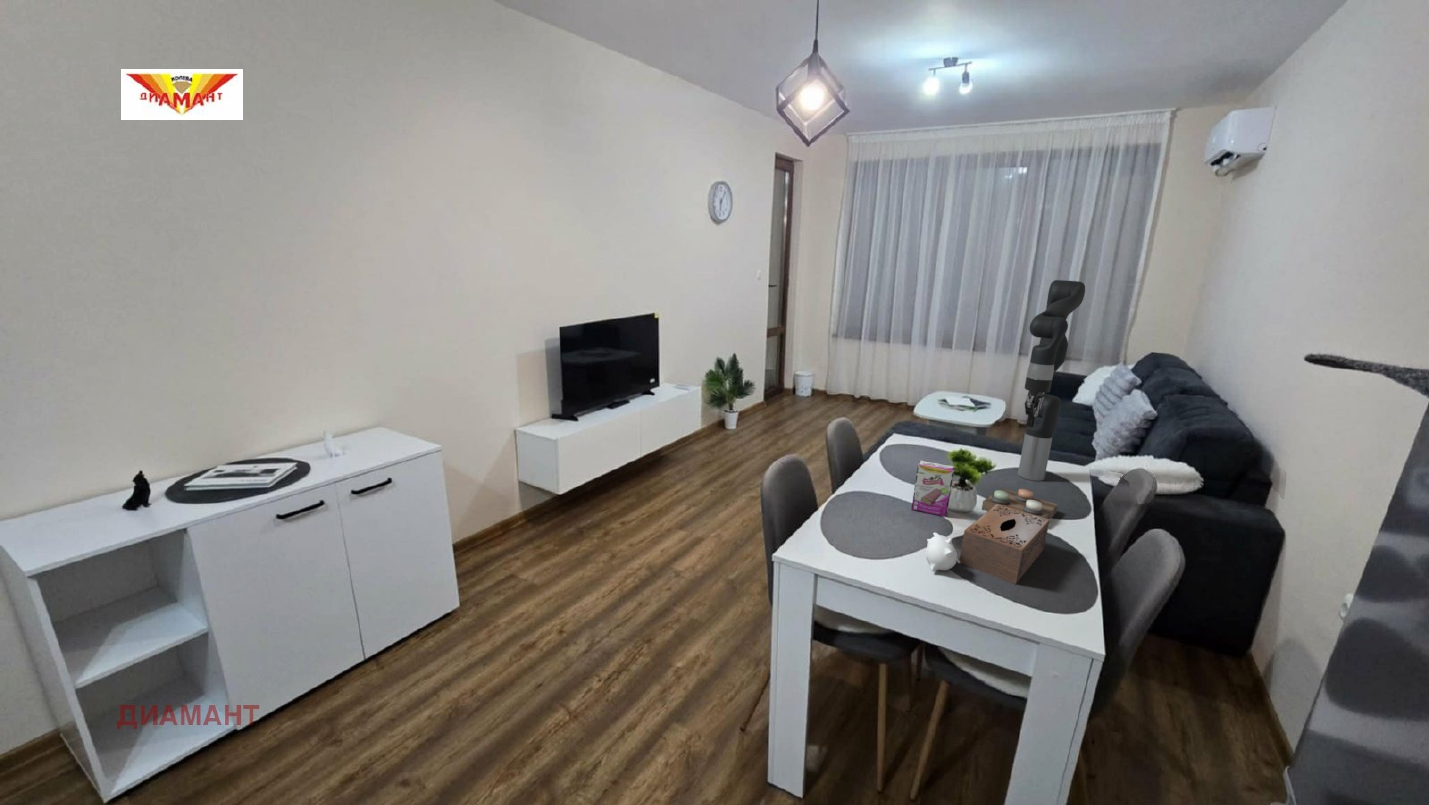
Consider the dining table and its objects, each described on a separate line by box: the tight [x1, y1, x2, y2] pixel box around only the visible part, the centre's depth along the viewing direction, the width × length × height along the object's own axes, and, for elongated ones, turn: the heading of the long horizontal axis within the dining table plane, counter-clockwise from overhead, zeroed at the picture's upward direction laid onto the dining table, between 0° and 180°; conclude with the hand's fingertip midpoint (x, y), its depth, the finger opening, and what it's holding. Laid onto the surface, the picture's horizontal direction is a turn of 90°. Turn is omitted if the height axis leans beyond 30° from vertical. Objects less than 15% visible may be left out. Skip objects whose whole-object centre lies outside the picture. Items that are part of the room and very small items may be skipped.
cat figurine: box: [925, 532, 961, 572], centre depth 152 cm, size 9×11×12 cm
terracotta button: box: [1017, 488, 1034, 500], centre depth 190 cm, size 4×4×2 cm
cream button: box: [1026, 500, 1042, 511], centre depth 181 cm, size 4×4×2 cm
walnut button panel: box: [981, 487, 1059, 520], centre depth 188 cm, size 17×18×4 cm
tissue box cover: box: [959, 504, 1051, 585], centre depth 158 cm, size 26×14×10 cm, turn 136°
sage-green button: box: [993, 489, 1009, 501], centre depth 188 cm, size 4×4×2 cm
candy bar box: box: [911, 460, 956, 518], centre depth 184 cm, size 11×5×16 cm, turn 65°
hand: (1030, 426), depth 191 cm, fingers closed
